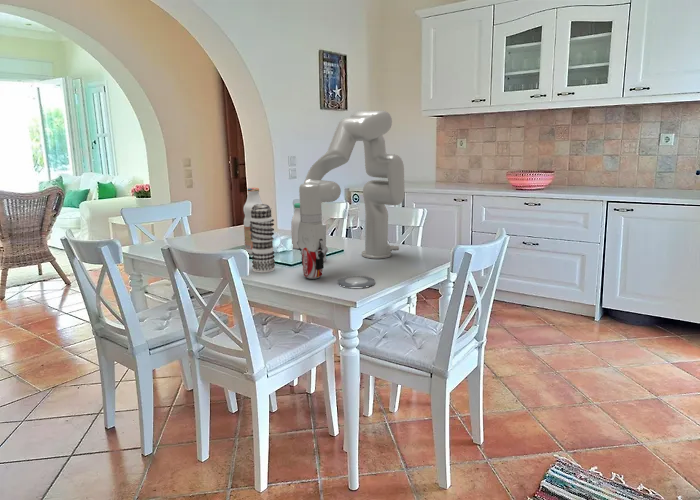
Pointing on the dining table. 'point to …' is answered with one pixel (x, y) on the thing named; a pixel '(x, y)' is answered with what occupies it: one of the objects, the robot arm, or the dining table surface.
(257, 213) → the black white patterned cylinder
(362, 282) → the coaster
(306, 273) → the soda can
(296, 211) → the milk bottle
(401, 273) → the dining table surface
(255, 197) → the fruit juice
